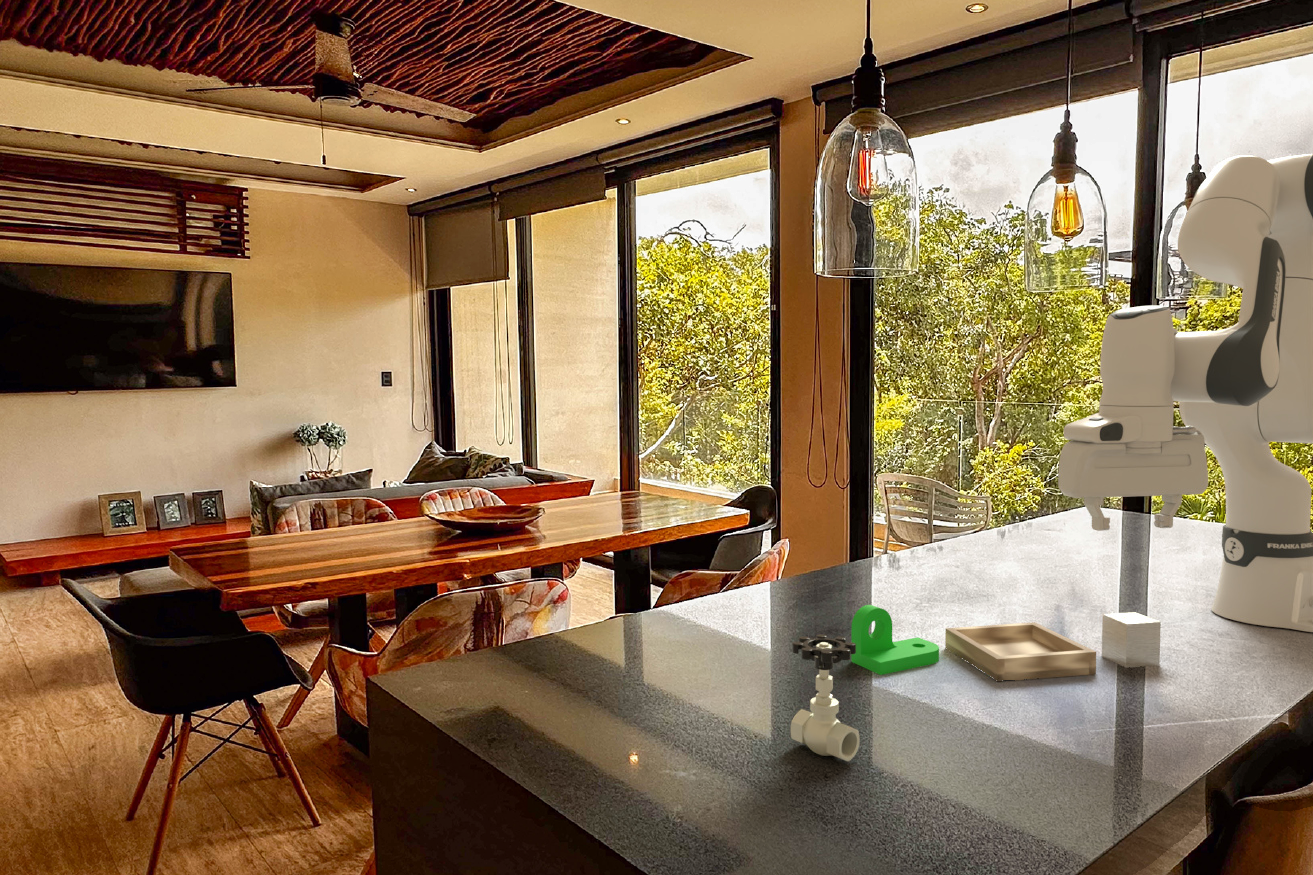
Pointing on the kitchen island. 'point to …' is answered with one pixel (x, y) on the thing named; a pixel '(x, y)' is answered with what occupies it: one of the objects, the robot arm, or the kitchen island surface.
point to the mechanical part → (887, 644)
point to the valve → (824, 701)
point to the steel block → (1131, 639)
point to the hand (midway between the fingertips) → (1132, 528)
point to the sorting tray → (1020, 651)
